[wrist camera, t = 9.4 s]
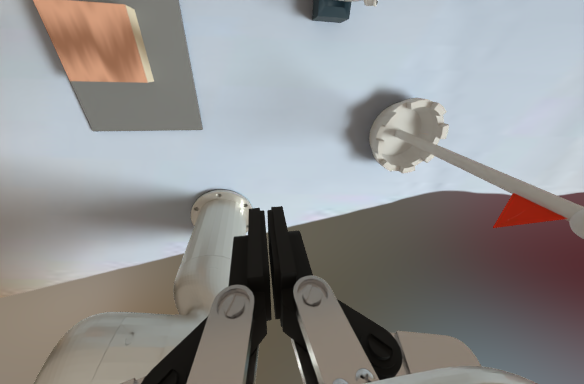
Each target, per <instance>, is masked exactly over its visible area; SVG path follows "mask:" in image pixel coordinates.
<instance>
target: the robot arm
mask: <svg viewBox="0 0 584 384" xmlns="http://www.w3.org/2000/svg"><path fill="white" fill-rule="evenodd" d="M191 221H192V223H193V225H194V229H193V231H192V234H191V237H190V240H189V242H188V245H187V248H186V251H185V253H184V257H183V259H182V262H181V265H180V267H179V270H178V273H177V276H176V279H175V282H174V300H175V304H176V307H177V309H178V312H179V314H180V315H164V314H149V313H132V312H131V313H128V312H107V313H101V314H96V315H93V316H90V317H88V318H86V319H84V320H82V321H80V322H79V323H77V324H76V325H75V326H73V327H72V328H71V329H70V330H69V331H68V332H67V333H66V334H65V335H64V336H63V337H62V339H61V340H60V341H59V342H58V343H57V345H56V346H55V347H54V349H53V350H52V352H51V353H50V355H49V357H48V358H47V360H46V362H45V363H44V365H43V367H42V369H41V371H40V372H39V374H38V376H37V378H36V380H35V382H34V384H255V382H256V372H257V362H258V352H259V344H260V342H261V341H262V339H263V338H264V337H265V336H266V334H267V325H266V321H268V320H271V299H270V274H269V262H268V250H267V238H266V227H265V215H264V211H260V208H252V206H251V204H250V202H249V201H248V200H247V199H246V198H245V197H243V196H242V195H240V194H238V193H236V192H233V191H229V190H215V191H210V192H207V193H205V194H203V195H202V196H200V197H199V198H198V199H197V200H196V201H195V203H194V205H193V207H192V210H191ZM247 231H248V235H246V232H247ZM268 235H269V255H270V266H271V278H272V287H273V299H274V310H275V319H280V321H281V327H282V328H283V332H285V333H286V334H287V335H288V336H289V337H291V341H292V344H293V348H294V352H295V355H296V359H297V362H298V366H299V369H300V373H301V376H302V380H303V383H304V384H537V383H535V382H533V381H530V380H528V379H526V378H523V377H521V376H519V375H515V374H513V373H509V372H506V371H503V370H499V369H493V368H489V367H482V366H481V365H480V363H479V361H478V359H477V358H476V356H475V355H474V354H473V353H472V351H471V350H470V349H469V348H468V347H467V346H466V345H465V344H464V343H463V342H461V341H459V340H458V339H456V338H453V337H450V336H444V335H435V334H425V333H415V332H405V331H396V333H389V332H388V331H387V330H385V329H384V328H383V327H381V326H379V325H378V324H376V323H374V322H373V321H371V320H370V319H368V318H366V317H365V316H363V315H362V314H360V313H358V312H357V311H355V310H353V309H352V308H350V307H349V306H347V305H346V304H344V303H342V302H341V301H339V300H337V299H336V297H335V295H334V293H333V291H332V289H331V287H330V286H329V285H328V283H327V282H326V281H324V280H323V279H322V278H319V277H317V276H313V274H312V271H311V268H310V264H309V261H308V258H307V254H306V251H305V247H304V244H303V240H302V237H301V234H300V232H299V231H290V232H288V230H287V226H286V221H285V216H284V212H283V207H282V206H281V207H272V208H271V210H268Z"/></svg>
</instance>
